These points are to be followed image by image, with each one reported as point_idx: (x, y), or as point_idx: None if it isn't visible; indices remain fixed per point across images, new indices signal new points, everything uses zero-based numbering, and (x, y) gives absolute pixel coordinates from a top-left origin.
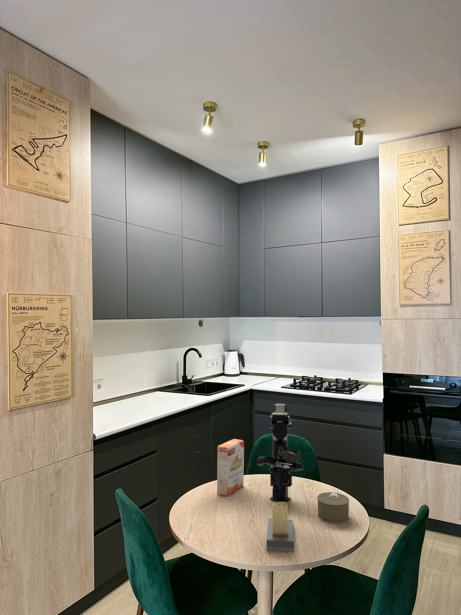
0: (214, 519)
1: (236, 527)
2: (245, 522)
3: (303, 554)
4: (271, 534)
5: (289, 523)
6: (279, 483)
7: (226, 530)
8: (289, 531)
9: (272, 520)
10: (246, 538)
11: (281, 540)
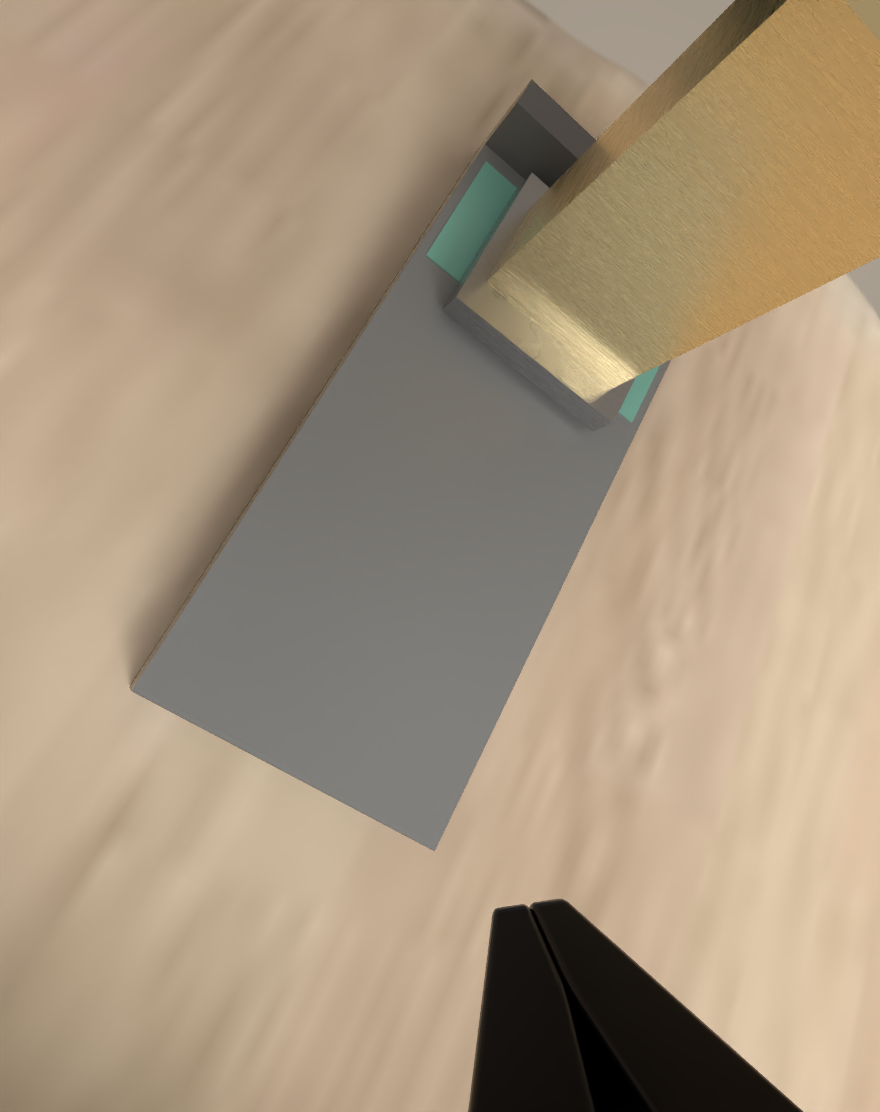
0: (854, 1085)
1: (739, 842)
2: (632, 929)
3: (413, 72)
4: (628, 387)
5: (241, 608)
6: (647, 989)
7: (823, 813)
8: (361, 421)
9: (408, 780)
10: (730, 596)
11: None
